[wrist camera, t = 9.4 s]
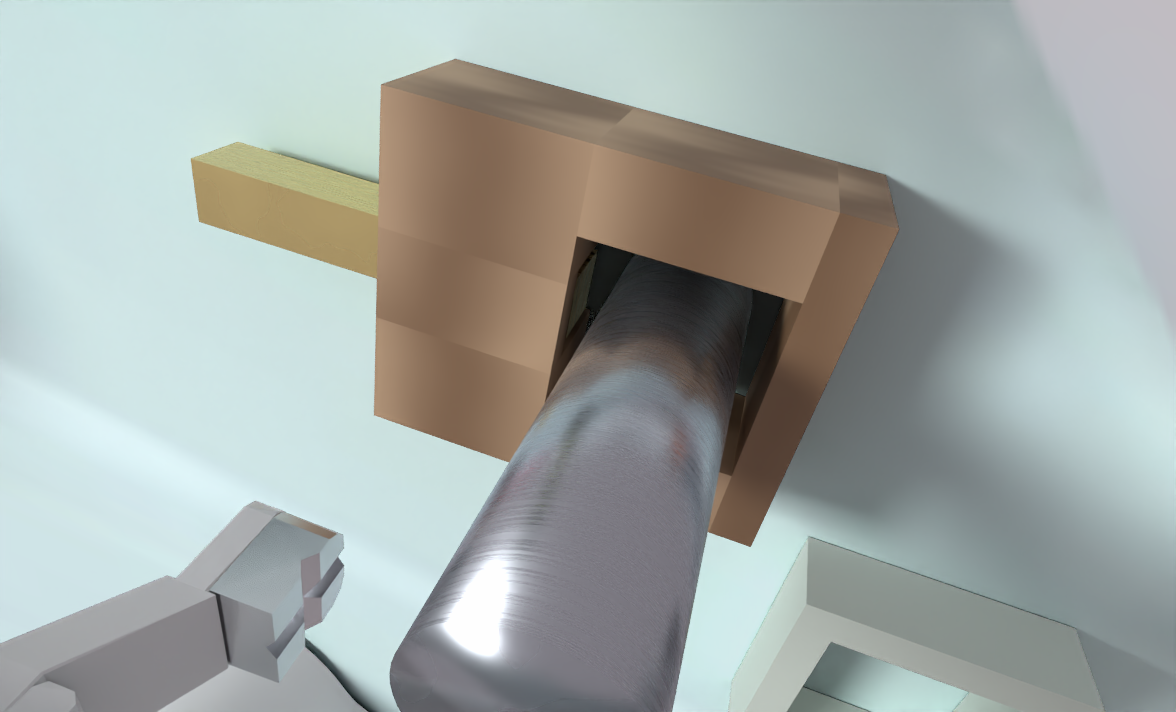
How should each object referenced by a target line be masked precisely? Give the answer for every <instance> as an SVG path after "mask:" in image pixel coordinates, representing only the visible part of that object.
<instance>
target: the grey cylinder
mask: <svg viewBox="0 0 1176 712" xmlns="http://www.w3.org/2000/svg"><path fill="white" fill-rule="evenodd" d="M751 309H752V288H749V287H745V286H742V285H739V284H735V283H732V282H729V281H725V280H722V279H718V278H715V277H712V276H708V275H705V274H702V273H698V272H695V271H692V270H688V269H685V268H682V267H678V266H675V265H672V264H668V263H665V262H662V261H658V260H655V259H652V258H648V257H645V256H642V255H638V254H635V255H634V256H633V257H632V258H631V260H630V261H629V263H628V264H627V266H626V268H625V269H624V271H623V273H622V274H621V276H620V278H619V279H618V281H617V283H616V284H615V286H614V288H613V290H612V291H611V293H610V295H609V296H608V298H607V300H606V301H605V303H604V305H603V306H602V308H601V310H600V311H599V313H598V315H597V316H596V318H595V320H594V321H593V323H592V325H591V326H590V328H589V330H588V331H587V333H586V335H585V336H584V338H583V340H582V341H581V343H580V345H579V346H578V348H577V350H576V351H575V353H574V355H573V357H572V358H571V360H570V362H569V363H568V365H567V367H566V368H565V370H564V372H563V373H562V375H561V377H560V378H559V380H558V382H557V383H556V385H555V387H554V388H553V390H552V392H551V393H550V395H549V397H548V398H547V400H546V402H545V403H544V405H543V407H542V408H541V410H540V412H539V413H538V415H537V417H536V418H535V420H534V422H533V424H532V425H531V427H530V429H529V430H528V432H527V434H526V435H525V437H524V439H523V440H522V442H521V444H520V445H519V447H518V449H517V450H516V452H515V454H514V455H513V457H512V459H511V460H510V462H509V464H508V465H507V467H506V469H505V470H504V472H503V474H502V475H501V477H500V479H499V480H498V482H497V484H496V485H495V487H494V489H493V491H492V492H491V494H490V496H489V497H488V499H487V501H486V502H485V504H484V506H483V507H482V509H481V511H480V512H479V514H478V516H477V517H476V519H475V521H474V522H473V524H472V526H471V527H470V529H469V531H468V532H467V534H466V536H465V537H464V539H463V541H462V542H461V544H460V546H459V547H458V549H457V551H456V552H455V554H454V556H453V558H452V559H451V561H450V563H449V564H448V566H447V568H446V569H445V571H444V573H443V574H442V576H441V578H440V579H439V581H438V583H437V584H436V586H435V588H434V589H433V591H432V593H431V594H430V596H429V598H428V599H427V601H426V603H425V604H424V606H423V608H422V609H421V611H420V613H419V614H418V616H417V618H416V619H415V621H414V623H413V625H412V626H411V628H410V630H409V631H408V633H407V635H406V636H405V638H404V640H403V641H402V643H401V645H400V646H399V648H398V650H397V651H396V653H395V655H394V657H393V660H392V662H391V668H390V685H391V689H392V693H393V696H394V699H395V701H396V703H397V706H398V708H399V709H400V711H401V712H672V709H673V704H674V699H675V694H676V689H677V684H678V679H679V674H680V669H681V663H682V658H683V653H684V648H685V643H686V638H687V633H688V628H689V623H690V618H691V613H692V608H693V603H694V598H695V593H696V587H697V582H698V577H699V572H700V567H701V562H702V557H703V552H704V547H705V542H706V537H707V532H708V527H709V522H710V517H711V511H712V506H713V501H714V496H715V491H716V486H717V481H718V476H719V471H720V466H721V461H722V456H723V451H724V446H725V440H726V435H727V430H728V425H729V420H730V415H731V410H732V405H733V400H734V395H735V390H736V385H737V380H738V375H739V370H740V364H741V359H742V354H743V349H744V344H745V339H746V334H747V329H748V324H749V319H750V314H751Z"/></svg>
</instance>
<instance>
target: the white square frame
mask: <svg viewBox="0 0 1176 712" xmlns="http://www.w3.org/2000/svg"><path fill="white" fill-rule="evenodd" d="M830 642H833V643H835V644H838V645H841V646H844V647H846V648H849V649H852V650H855V651H857V652H860V653H863V654H866V655H868V656H871V657H874V658H877V659H879V660H882V661H885V662H888V663H890V664H893V665H896V666H899V667H901V668H904V669H907V670H910V671H912V672H915V673H918V674H921V675H923V676H926V677H929V678H932V679H934V680H937V681H940V682H943V683H946V684H948V685H951V686H954V687H957V688H959V689H962V690H965V691H968V692H969V693H968V694H967V696H966V697H965V698H964V699H963V700H962V701H961V702H960V704H959V705H958V706H957V707H956V708H955V709H954V710H953V712H1105V709H1104V706H1103V703H1102V701H1101V698H1100V695H1099V692H1098V689H1097V687H1096V684H1095V681H1094V678H1093V675H1092V673H1091V670H1090V667H1089V664H1088V662H1087V659H1086V656H1085V653H1084V650H1083V648H1082V645H1081V642H1080V639H1079V636H1078V634H1077V631H1076V629H1075V628H1073V627H1070V626H1067V625H1064V624H1061V623H1058V622H1055V621H1052V620H1049V619H1046V618H1044V617H1041V616H1038V615H1035V614H1032V613H1029V612H1026V611H1023V610H1020V609H1017V608H1014V607H1012V606H1009V605H1006V604H1003V603H1000V602H997V601H994V600H991V599H988V598H985V597H982V596H980V595H977V594H974V593H971V592H968V591H965V590H962V589H959V588H956V587H953V586H951V585H948V584H945V583H942V582H939V581H936V580H933V579H930V578H927V577H924V576H921V575H919V574H916V573H913V572H910V571H907V570H904V569H901V568H898V567H895V566H892V565H889V564H887V563H884V562H881V561H878V560H875V559H872V558H869V557H866V556H863V555H860V554H857V553H855V552H852V551H849V550H846V549H843V548H840V547H837V546H834V545H831V544H828V543H826V542H823V541H820V540H817V539H814V538H811V537H808V538H807V540H806V542H805V544H804V546H803V548H802V549H801V551H800V553H799V555H798V557H797V559H796V561H795V563H794V565H793V566H792V568H791V570H790V572H789V574H788V576H787V578H786V580H785V582H784V583H783V585H782V587H781V589H780V591H779V593H778V595H777V597H776V599H775V600H774V602H773V604H772V606H771V608H770V610H769V612H768V614H767V616H766V617H765V619H764V621H763V623H762V625H761V627H760V629H759V631H758V633H757V634H756V636H755V638H754V640H753V642H752V644H751V646H750V648H749V650H748V651H747V653H746V655H745V657H744V659H743V661H742V663H741V665H740V667H739V668H738V670H737V672H736V674H735V676H734V678H733V680H732V684H731V692H730V700H729V708H728V712H869V711H866V710H863V709H861V708H858V707H855V706H853V705H850V704H847V703H845V702H842V701H839V700H837V699H834V698H831V697H829V696H826V695H823V694H820V693H818V692H815V691H812V690H810V689H807V688H804V687H803V685H804V684H805V682H806V680H807V679H808V677H809V676H810V674H811V672H812V671H813V669H814V668H815V666H816V665H817V663H818V661H819V660H820V658H821V657H822V655H823V654H824V652H825V650H826V649H827V647H828V646H829V644H830Z"/></svg>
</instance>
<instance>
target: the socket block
mask: <svg viewBox="0 0 1176 712" xmlns="http://www.w3.org/2000/svg"><path fill="white" fill-rule="evenodd" d="M898 231H899V226H898V222H897V218H896V214H895V210H894V206H893V202H892V198H891V194H890V190H889V185H888V181H887V177H886V175H884V174H880V173H877V172H873V171H869V170H866V169H862V168H858V167H854V166H851V165H847V164H843V163H840V162H836V161H832V160H828V159H825V158H821V157H817V156H814V155H810V154H806V153H803V152H799V151H795V150H791V149H788V148H784V147H780V146H777V145H773V144H769V143H765V142H762V141H758V140H754V139H751V138H747V137H743V136H739V135H736V134H732V133H728V132H725V131H721V130H717V129H713V128H710V127H706V126H702V125H699V124H695V123H691V122H687V121H684V120H680V119H676V118H673V117H669V116H665V115H661V114H658V113H654V112H650V111H647V110H643V109H639V108H636V107H632V106H628V105H624V104H621V103H617V102H613V101H610V100H606V99H602V98H598V97H595V96H591V95H587V94H584V93H580V92H576V91H572V90H569V89H565V88H561V87H558V86H554V85H550V84H546V83H543V82H539V81H535V80H532V79H528V78H524V77H520V76H517V75H513V74H509V73H506V72H502V71H498V70H495V69H491V68H487V67H483V66H480V65H476V64H472V63H469V62H465V61H461V60H457V59H454V60H451V61H448V62H445V63H442V64H439V65H437V66H434V67H431V68H428V69H425V70H422V71H419V72H416V73H413V74H410V75H407V76H405V77H402V78H399V79H396V80H393V81H390V82H387V83H384V84H381V107H380V156H379V204H378V252H377V300H376V348H375V396H374V415H375V416H378V417H381V418H384V419H387V420H389V421H392V422H395V423H398V424H401V425H404V426H407V427H409V428H412V429H415V430H418V431H421V432H424V433H427V434H429V435H432V436H435V437H438V438H441V439H444V440H447V441H449V442H452V443H455V444H458V445H461V446H464V447H467V448H469V449H472V450H475V451H478V452H481V453H484V454H487V455H489V456H492V457H495V458H498V459H501V460H504V461H507V462H510V460H511V459H512V457H513V455H514V454H515V452H516V450H517V449H518V447H519V445H520V444H521V442H522V440H523V439H524V437H525V435H526V434H527V432H528V430H529V429H530V427H531V425H532V424H533V422H534V420H535V418H536V417H537V415H538V413H539V412H540V410H541V408H542V407H543V405H544V403H545V402H546V400H547V398H548V397H549V395H550V393H551V392H552V390H553V388H554V387H555V385H556V383H557V382H558V380H559V378H560V377H561V375H562V373H563V372H564V370H565V368H566V367H567V365H568V363H569V362H570V360H571V358H572V357H573V355H574V353H575V351H576V350H577V348H578V346H579V345H580V343H581V341H582V340H583V338H584V336H585V333H586V328H587V324H588V319H589V315H590V309H587V308H585V310H584V311H583V313H582V314H581V316H580V317H579V319H578V321H577V322H576V324H575V325H574V327H573V328H572V330H571V331H570V333H569V335H568V336H567V338H566V339H565V336H566V331H567V326H568V321H569V316H570V311H571V306H572V301H573V296H574V291H575V286H576V281H577V276H578V271H579V269H580V267H581V266H582V264H583V263H584V262H585V260H586V259H587V258H588V256H589V255H590V254H591V252H592V251H593V249H594V248H595V247H596V245H597V244H598V243H601V244H605V245H608V246H611V247H615V248H618V249H621V250H625V251H628V252H632V253H635V254H638V255H642V256H645V257H648V258H652V259H655V260H658V261H662V262H665V263H668V264H672V265H675V266H678V267H682V268H685V269H688V270H692V271H695V272H698V273H702V274H705V275H708V276H712V277H715V278H718V279H722V280H725V281H729V282H732V283H735V284H739V285H742V286H745V287H749V288H752V289H755V290H759V291H762V292H765V293H769V294H772V295H775V296H779V297H782V298H784V300H783V302H782V305H781V307H780V310H779V312H778V315H777V317H776V320H775V323H774V325H773V328H772V330H771V333H770V335H769V338H768V340H767V343H766V345H765V348H764V351H763V353H762V356H761V358H760V361H759V363H758V366H757V368H756V371H755V374H754V376H753V379H752V381H751V384H750V386H749V389H748V391H747V394H746V396H742V395H739V394H736V393H735V395H734V400H733V405H732V410H731V415H730V420H729V425H728V430H727V435H726V440H725V446H724V451H723V456H722V461H721V466H720V471H719V476H718V481H717V486H716V491H715V496H714V501H713V506H712V511H711V517H710V522H709V527H708V532H709V533H712V534H715V535H718V536H721V537H724V538H727V539H729V540H732V541H735V542H738V543H741V544H744V545H747V546H749V547H751V545H752V543H753V541H754V539H755V537H756V534H757V532H758V530H759V528H760V526H761V524H762V522H763V520H764V517H765V515H766V513H767V511H768V509H769V507H770V505H771V502H772V500H773V498H774V496H775V494H776V492H777V490H778V487H779V485H780V483H781V481H782V479H783V477H784V475H785V473H786V470H787V468H788V466H789V464H790V462H791V460H792V458H793V455H794V453H795V451H796V449H797V447H798V445H799V443H800V440H801V438H802V436H803V434H804V432H805V430H806V428H807V425H808V423H809V421H810V419H811V417H812V415H813V413H814V411H815V408H816V406H817V404H818V402H819V400H820V398H821V396H822V393H823V391H824V389H825V387H826V385H827V383H828V381H829V378H830V376H831V374H832V372H833V370H834V368H835V366H836V364H837V361H838V359H839V357H840V355H841V353H842V351H843V349H844V346H845V344H846V342H847V340H848V338H849V336H850V334H851V331H852V329H853V327H854V325H855V323H856V321H857V319H858V317H859V314H860V312H861V310H862V308H863V306H864V304H865V302H866V299H867V297H868V295H869V293H870V291H871V289H872V287H873V284H874V282H875V280H876V278H877V276H878V274H879V272H880V269H881V267H882V265H883V263H884V261H885V259H886V257H887V255H888V252H889V250H890V248H891V246H892V244H893V242H894V240H895V237H896V235H897V233H898Z"/></svg>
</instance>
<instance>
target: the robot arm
mask: <svg viewBox="0 0 1176 712" xmlns="http://www.w3.org/2000/svg"><path fill="white" fill-rule="evenodd" d="M343 549H344V540H343V534H340V533H338V532H335V531H333V530H330V529H327V528H325V527H322V526H320V525H317V524H314V523H312V522H309V521H307V520H304V519H301V518H299V517H296V516H294V515H291V514H288V513H286V512H285V511H282V510H279V509H276V508H274V507H271V506H268V505H266V504H263V503H260V502H257V501H254V502H252V503H250V504H249V505H247V506H245V507H243V508H242V509H241V510H240V511H239V513H238V514H237V515H236V516H235V517H234V518H233V519H232V520H231V521H230V522H229V523H228V524H227V525H226V526H225V527H224V528H223V529H222V530H221V531H220V532H219V533H218V534H217V536H216V537H215V538H214V539H213V540H212V541H211V542H210V543H209V544H208V545H207V546H206V547H205V548H204V549H203V550H202V551H201V552H200V553H199V554H198V555H197V556H196V557H195V558H194V560H193V561H192V562H191V563H190V564H189V565H188V566H187V567H186V568H185V569H184V570H183V571H182V572H181V573H180V574H179V575H178V576H177V577H176V578H173V577H170V576H164V577H162V578H159V579H157V580H154V581H152V582H149V583H147V584H145V585H142V586H140V587H137V588H135V589H132V590H130V591H127V592H125V593H123V594H120V595H118V596H115V597H113V598H110V599H108V600H105V601H103V602H101V603H98V604H96V605H93V606H91V607H88V608H86V609H83V610H81V611H79V612H76V613H74V614H71V615H69V616H66V617H64V618H61V619H59V620H57V621H54V622H52V623H49V624H47V625H44V626H42V627H39V628H37V629H35V630H32V631H30V632H27V633H25V634H22V635H20V636H17V637H15V638H13V639H10V640H8V641H5V642H3V643H0V712H368V711H366V710H365V709H364V708H363V707H361V706H360V705H359V704H357V703H356V702H355V701H354V700H353V698H352V697H351V696H350V695H349V694H348V693H347V691H346V690H345V689H344V687H343V686H342V685H341V684H340V682H339V681H338V680H337V678H336V677H335V676H334V675H333V674H332V673H331V671H330V670H329V669H328V668H327V667H326V666H325V665H324V664H323V663H322V662H321V661H320V660H319V659H318V658H317V657H316V656H315V655H314V654H313V653H311V652H310V651H309V650H308V649H307V648H306V647H305V630H306V629H308V628H310V627H312V626H314V625H316V624H318V623H320V622H322V621H323V620H324V618H325V617H326V615H327V614H328V612H329V611H330V609H331V608H332V606H333V604H334V602H335V600H336V597H337V595H338V593H339V591H340V589H341V585H342V581H343V577H344V565H343V564H342V562H341V561H340V559H339V558H338V555H339V554H340V553H341V551H342V550H343Z"/></svg>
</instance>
